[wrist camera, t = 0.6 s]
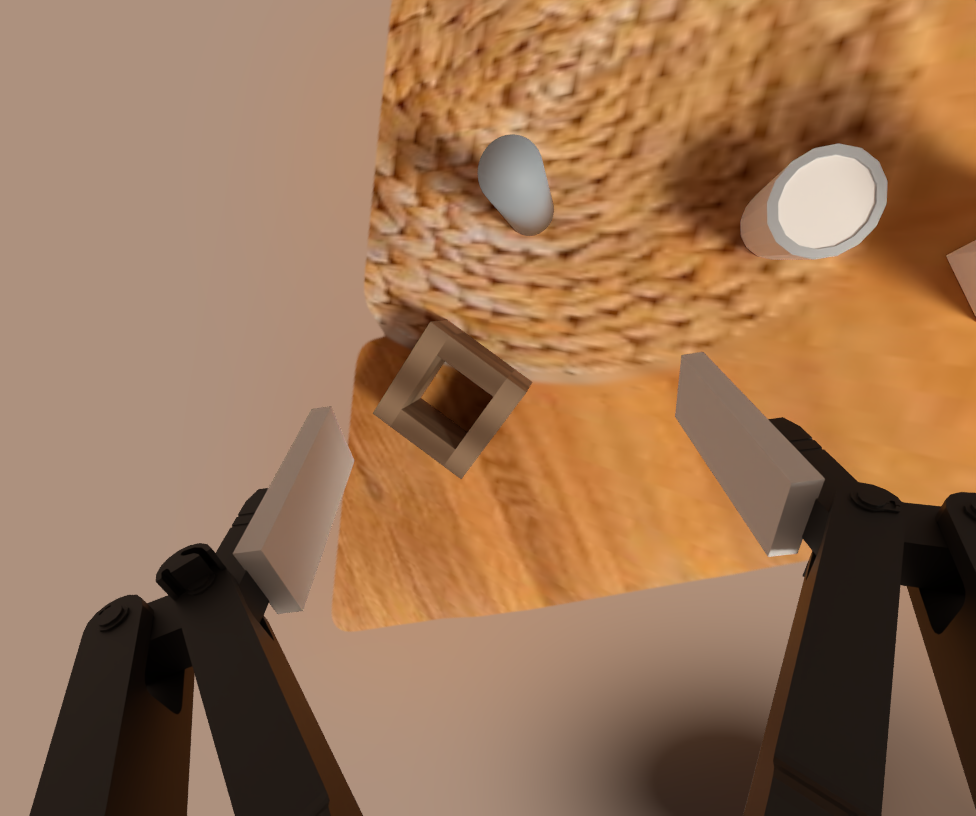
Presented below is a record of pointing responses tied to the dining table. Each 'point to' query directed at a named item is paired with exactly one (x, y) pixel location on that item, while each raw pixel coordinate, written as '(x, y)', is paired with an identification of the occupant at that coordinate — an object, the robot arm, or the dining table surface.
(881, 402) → the dining table surface
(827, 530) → the robot arm
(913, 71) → the dining table surface
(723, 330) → the dining table surface
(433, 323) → the socket
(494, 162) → the grey cylinder
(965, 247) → the milk
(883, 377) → the dining table surface
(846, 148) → the grey and white cylinder
